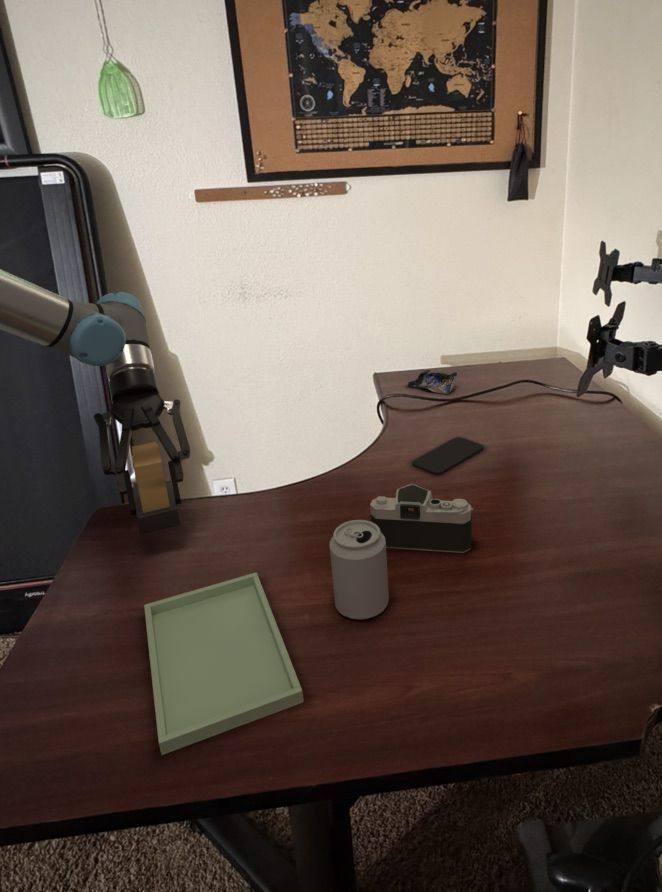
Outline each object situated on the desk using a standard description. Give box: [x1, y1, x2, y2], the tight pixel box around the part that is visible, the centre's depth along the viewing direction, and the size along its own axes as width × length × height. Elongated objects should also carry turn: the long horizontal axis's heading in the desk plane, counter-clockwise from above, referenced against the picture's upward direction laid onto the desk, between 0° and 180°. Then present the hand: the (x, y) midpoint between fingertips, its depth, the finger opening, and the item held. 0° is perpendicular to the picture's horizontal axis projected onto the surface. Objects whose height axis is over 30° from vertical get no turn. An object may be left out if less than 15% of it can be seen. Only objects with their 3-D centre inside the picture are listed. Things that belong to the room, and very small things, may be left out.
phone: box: [411, 436, 484, 476], centre depth 126 cm, size 7×1×15 cm
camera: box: [369, 483, 475, 554], centre depth 99 cm, size 16×9×10 cm, turn 80°
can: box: [329, 519, 390, 620], centre depth 85 cm, size 8×8×12 cm
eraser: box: [131, 441, 181, 536], centre depth 100 cm, size 10×6×11 cm, turn 23°
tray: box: [143, 572, 305, 756], centre depth 79 cm, size 24×16×2 cm, turn 23°
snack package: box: [407, 369, 458, 395], centre depth 162 cm, size 12×6×12 cm
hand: (156, 506), depth 98 cm, fingers closed on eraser, 6 cm apart
